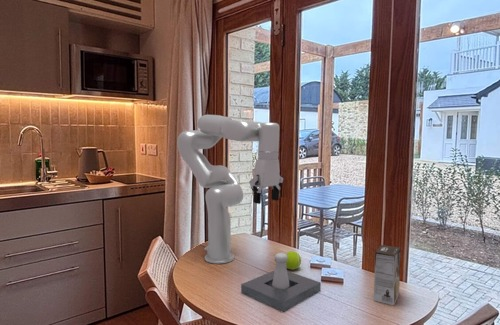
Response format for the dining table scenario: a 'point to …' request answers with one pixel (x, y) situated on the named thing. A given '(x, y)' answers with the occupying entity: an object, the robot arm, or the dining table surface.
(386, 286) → the coffee box
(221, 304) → the dining table surface
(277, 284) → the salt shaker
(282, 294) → the grey square frame
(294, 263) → the tennis ball
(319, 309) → the dining table surface
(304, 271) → the dining table surface
